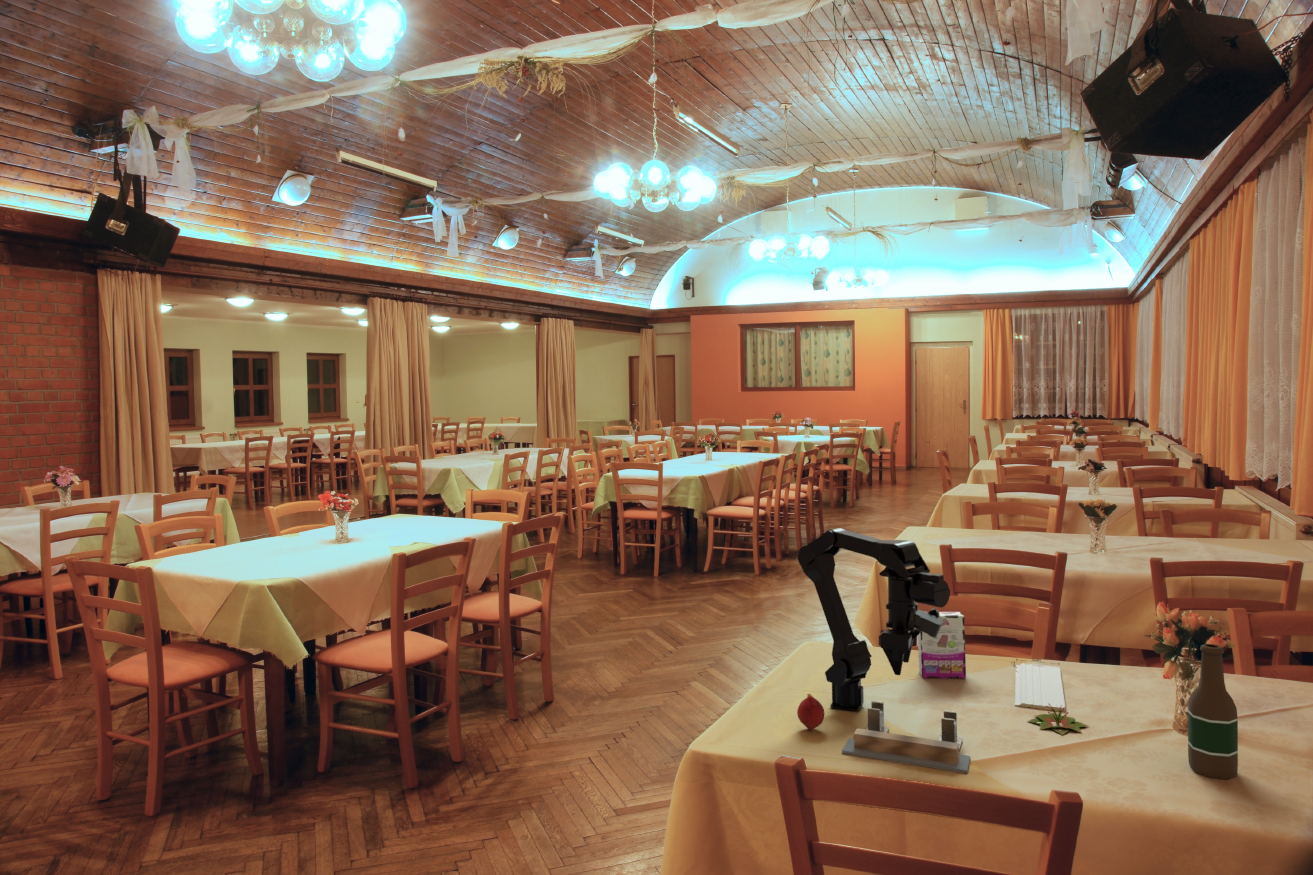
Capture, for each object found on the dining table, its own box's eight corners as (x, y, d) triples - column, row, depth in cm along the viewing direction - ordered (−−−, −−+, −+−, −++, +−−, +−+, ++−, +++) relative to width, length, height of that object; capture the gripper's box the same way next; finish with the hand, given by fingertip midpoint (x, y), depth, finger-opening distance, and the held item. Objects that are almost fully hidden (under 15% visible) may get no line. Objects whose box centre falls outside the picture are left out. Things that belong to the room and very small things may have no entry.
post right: (936, 748, 166) (936, 718, 165) (940, 737, 171) (939, 708, 171) (959, 751, 164) (958, 721, 163) (962, 740, 169) (961, 711, 169)
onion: (826, 725, 179) (825, 690, 179) (822, 736, 173) (822, 699, 173) (800, 723, 181) (799, 688, 180) (795, 733, 175) (795, 697, 175)
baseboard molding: (1008, 707, 188) (1065, 714, 183) (1008, 695, 188) (1065, 702, 183) (1009, 667, 216) (1059, 672, 211) (1009, 656, 216) (1059, 661, 211)
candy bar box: (961, 672, 211) (960, 610, 211) (966, 679, 206) (965, 615, 206) (917, 672, 213) (916, 610, 212) (921, 678, 208) (920, 615, 207)
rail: (854, 747, 166) (853, 733, 165) (857, 742, 168) (857, 728, 168) (957, 764, 157) (957, 749, 157) (958, 757, 159) (958, 743, 159)
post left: (863, 737, 172) (862, 708, 172) (868, 726, 178) (868, 699, 177) (884, 740, 170) (883, 711, 170) (889, 729, 176) (888, 701, 175)
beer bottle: (1178, 763, 156) (1177, 640, 155) (1215, 760, 156) (1215, 638, 156) (1209, 781, 148) (1208, 652, 147) (1248, 778, 149) (1248, 650, 148)
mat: (842, 753, 165) (842, 750, 165) (849, 740, 171) (849, 737, 171) (967, 773, 154) (967, 770, 154) (970, 758, 160) (970, 755, 160)
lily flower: (1100, 729, 174) (1100, 708, 173) (1064, 741, 168) (1063, 720, 168) (1051, 712, 184) (1051, 692, 184) (1015, 722, 179) (1015, 702, 179)
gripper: (932, 612, 165) (933, 687, 166) (946, 592, 181) (946, 660, 182) (877, 607, 170) (878, 679, 171) (895, 588, 187) (896, 654, 187)
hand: (901, 668), depth 178 cm, fingers open, 9 cm apart
